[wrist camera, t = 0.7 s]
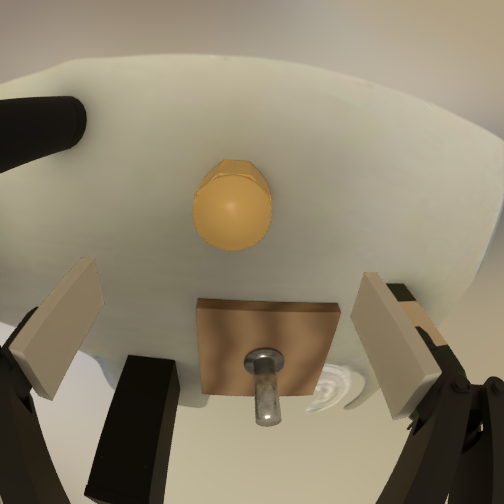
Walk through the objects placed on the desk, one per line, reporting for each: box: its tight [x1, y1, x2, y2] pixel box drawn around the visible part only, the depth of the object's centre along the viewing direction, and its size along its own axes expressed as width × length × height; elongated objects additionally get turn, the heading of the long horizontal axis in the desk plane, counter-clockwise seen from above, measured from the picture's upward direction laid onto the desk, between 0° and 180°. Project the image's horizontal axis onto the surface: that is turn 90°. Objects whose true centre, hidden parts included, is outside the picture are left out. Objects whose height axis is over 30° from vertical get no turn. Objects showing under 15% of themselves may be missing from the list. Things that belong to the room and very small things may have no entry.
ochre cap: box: [193, 160, 272, 251], centre depth 26 cm, size 6×6×8 cm
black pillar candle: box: [84, 355, 180, 504], centre depth 30 cm, size 8×8×28 cm
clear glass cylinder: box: [244, 347, 284, 427], centre depth 34 cm, size 6×6×10 cm
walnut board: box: [196, 298, 341, 396], centre depth 39 cm, size 18×18×2 cm
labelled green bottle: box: [386, 284, 467, 420], centre depth 24 cm, size 8×8×30 cm
